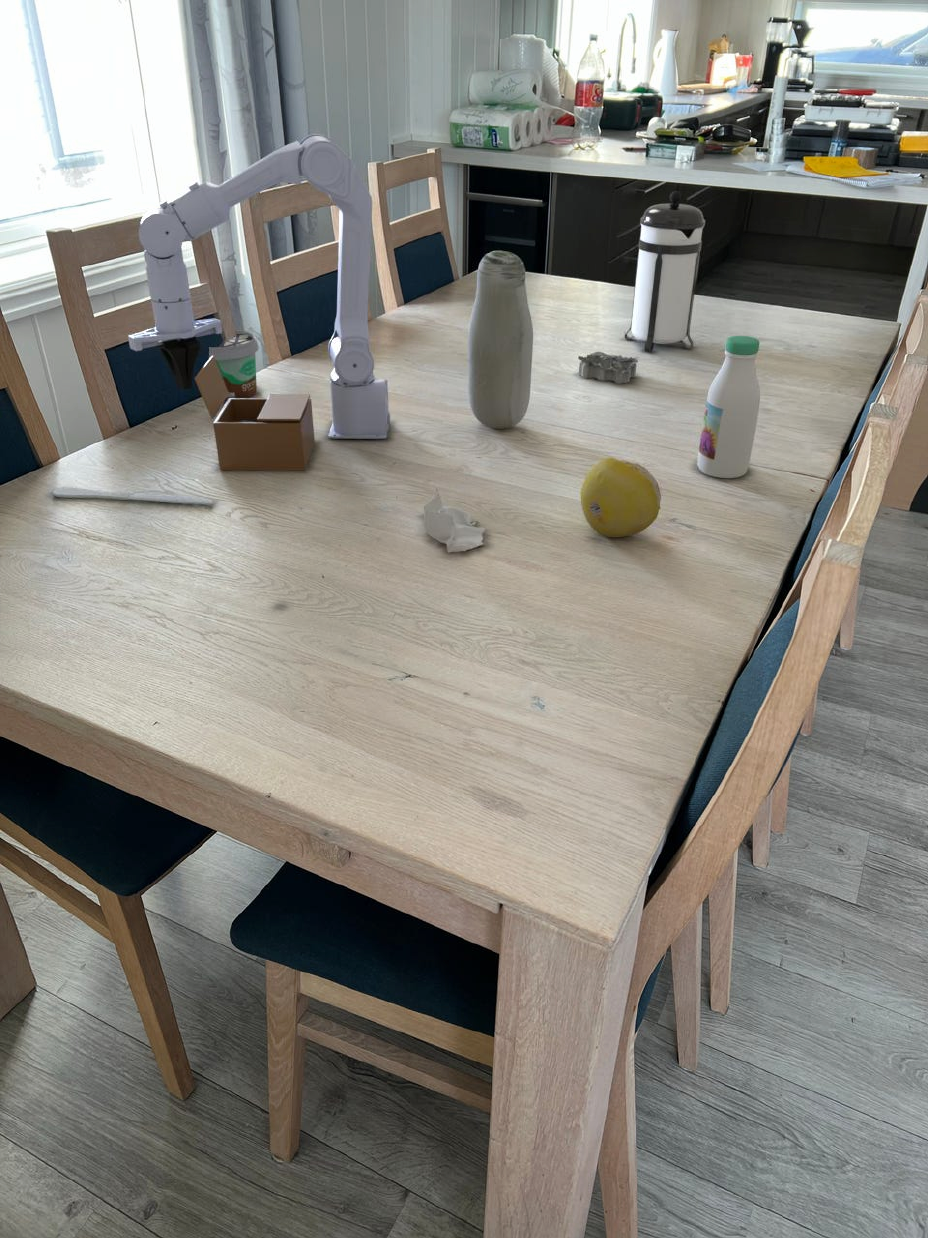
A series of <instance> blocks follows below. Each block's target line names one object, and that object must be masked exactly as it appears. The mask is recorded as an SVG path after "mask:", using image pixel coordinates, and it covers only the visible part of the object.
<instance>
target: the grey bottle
mask: <svg viewBox="0 0 928 1238" xmlns="http://www.w3.org/2000/svg"><path fill="white" fill-rule="evenodd" d="M476 282H477V283H476V292H475V298H474V303H473V307H472V310H471V316H470V320H469V324H468V332H467V333H468V334H467V361H468V362H467V363H468V365H467V366H468V384H467V385H468V387H467V388H468V400H469V402H468V403H469V407H470V410H471V412H472V414H473V415H474V418H476V419H477V421H478V422H479V423H481V424H482V425H484V426H485V427H488V428H492V429H496V430H502V429H509V428H512V427H514V426H516V425H518V424H520V422H521V421H522V420H523V419H524V417H525V416H526V414H527V411H528V407H529V403H530V397H531V381H532V365H533V351H534V350H533V349H534V328H533V327H534V326H533V320H532V315H531V311H530V307H529V303H528V302H529V301H528V295H527V287H526V267H525V265H524V262H523V260H522V259H521V258H520V257H519V256H518V255H516V254H515V253H513V252H510V251H505V250H492V251H490V252H489V253H486V254H484V256H483V257H482V259H481V260H480V262H479V264H478V268H477V274H476Z"/></svg>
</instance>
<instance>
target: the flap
mask: <svg viewBox="0 0 928 1238" xmlns="http://www.w3.org/2000/svg"><path fill="white" fill-rule="evenodd" d="M194 380H195V381H194V382H195V383H196V385H197V387H198V390H199V392H200V395H201V397H202V400H203V403H204V404H205V407H206V410H207V411H208V414H209V417H210V419H211V420H214V419H215V417H216V416H217V414H218V412H219V411H220V410H221V407H222V406H223V405H224V403H225V402H224V401H225V400H226V398H227V397H228V395H229V392H228V390H227V388H226V385H225V383H224V380H223V378H222V375H221V373H220V370H219V368H218V365H217V363H216V360H215V358H214V356H211V357H210V359H209V358H208V360H207V361H206V362H205V364H204V365H203V366H202V368H201V369H200V371H198V373H197V374H196V376H195V377H194Z"/></svg>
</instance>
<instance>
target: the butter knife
mask: <svg viewBox="0 0 928 1238" xmlns="http://www.w3.org/2000/svg"><path fill="white" fill-rule="evenodd" d="M52 495H53V497H56V498H65V499H66V498H69V499H72V498H73V499H110V500H119V501H121V500H122V501H127V500H134V501H135V500H136V501H145V502H147V501H148V502H162V503H176V504H178V503H179V504H193V505H194V504H195V505H213V504H214V502H213V501H214V500H210V499H207V498H202V497H195V496H184V495H174V494H162V493H161V494H160V493H148V492H147V493H146V492H138V493H135V494H130V493H122V492H120V493H119V492H106V491H98V490H97V491H96V490H91V489H83V488H77V487H76V488H75V487H64V486H63V487H60V488H57V489H55V490H53V492H52Z"/></svg>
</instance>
